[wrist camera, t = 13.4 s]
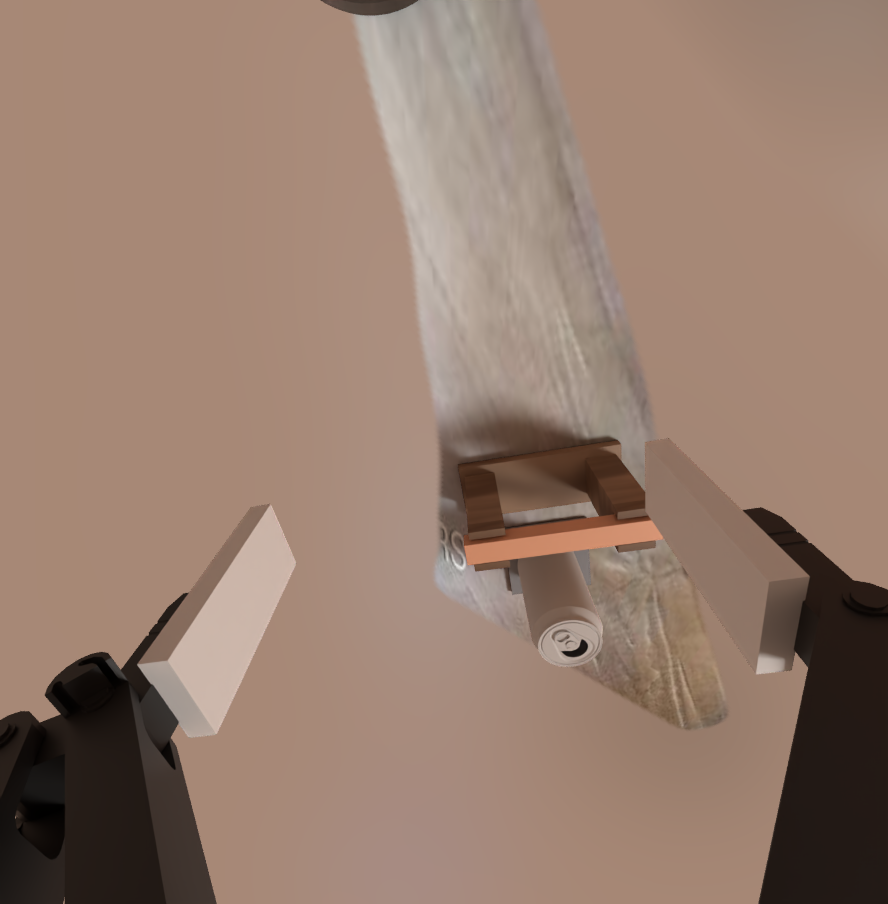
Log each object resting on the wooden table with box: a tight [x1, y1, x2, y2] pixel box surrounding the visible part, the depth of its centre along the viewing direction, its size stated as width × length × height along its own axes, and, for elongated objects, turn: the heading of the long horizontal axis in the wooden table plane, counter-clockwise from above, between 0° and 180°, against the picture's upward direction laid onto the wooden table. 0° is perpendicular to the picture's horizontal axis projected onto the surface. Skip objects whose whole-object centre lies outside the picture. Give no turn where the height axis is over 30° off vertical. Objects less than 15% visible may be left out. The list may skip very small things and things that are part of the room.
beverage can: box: [518, 551, 603, 667], centre depth 46 cm, size 6×6×12 cm
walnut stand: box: [458, 440, 656, 571], centre depth 42 cm, size 6×16×11 cm, turn 100°
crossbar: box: [464, 514, 664, 565], centre depth 38 cm, size 2×16×2 cm, turn 100°
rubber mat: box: [505, 517, 591, 595], centre depth 51 cm, size 9×9×1 cm
